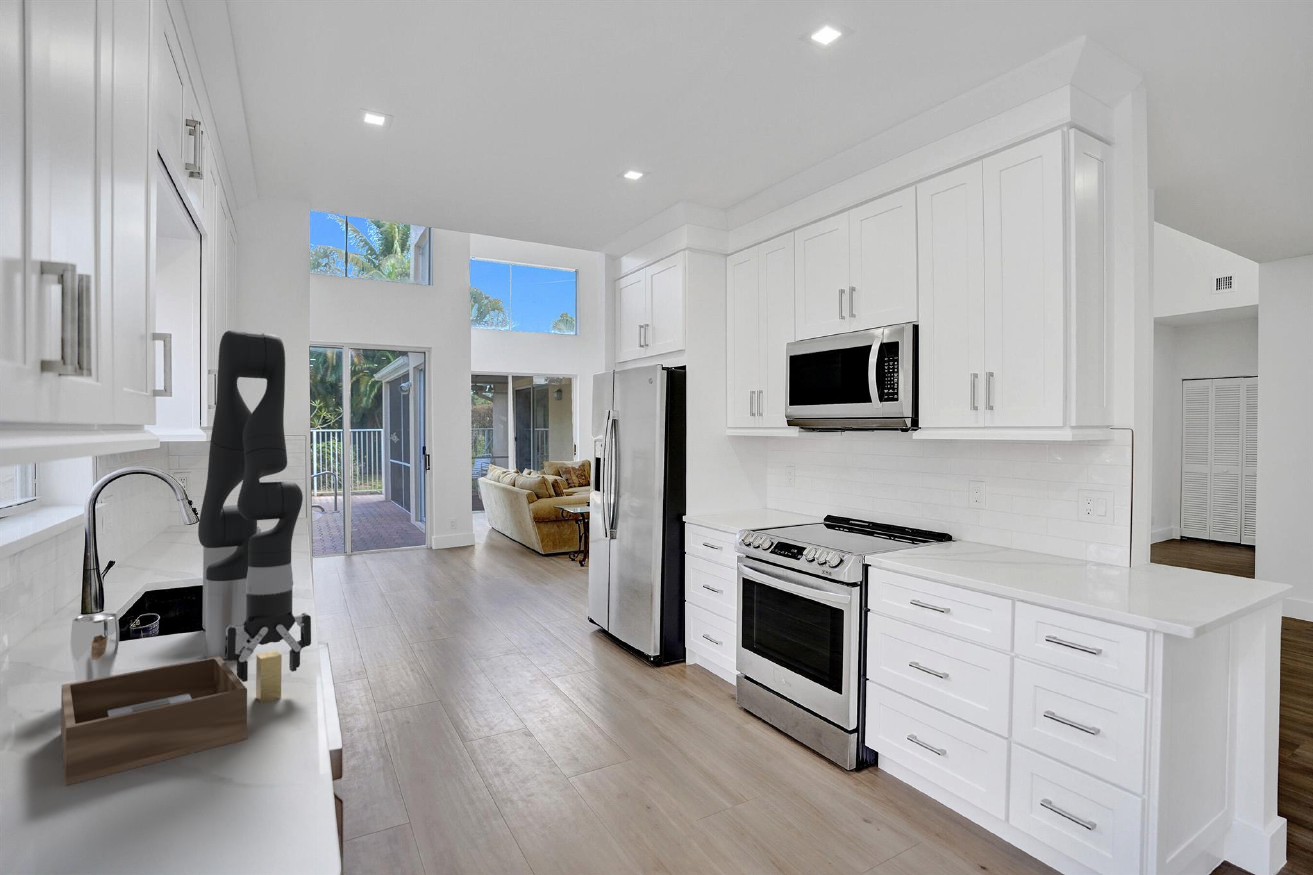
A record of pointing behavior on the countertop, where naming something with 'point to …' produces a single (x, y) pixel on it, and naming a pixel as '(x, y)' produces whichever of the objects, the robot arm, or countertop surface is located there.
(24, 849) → the countertop surface
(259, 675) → the tan wooden block
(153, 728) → the walled box
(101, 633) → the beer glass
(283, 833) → the countertop surface
